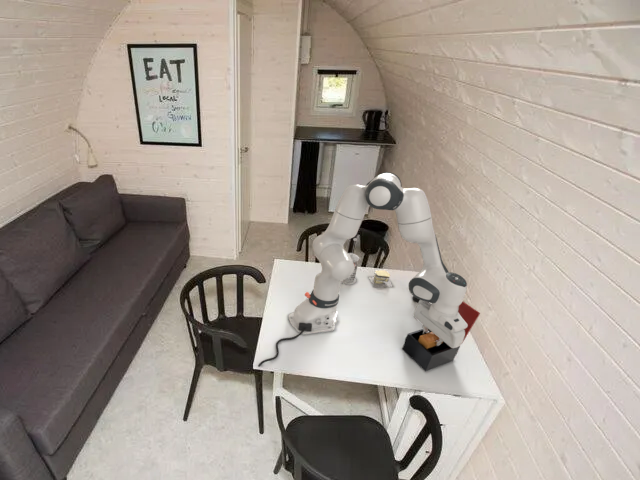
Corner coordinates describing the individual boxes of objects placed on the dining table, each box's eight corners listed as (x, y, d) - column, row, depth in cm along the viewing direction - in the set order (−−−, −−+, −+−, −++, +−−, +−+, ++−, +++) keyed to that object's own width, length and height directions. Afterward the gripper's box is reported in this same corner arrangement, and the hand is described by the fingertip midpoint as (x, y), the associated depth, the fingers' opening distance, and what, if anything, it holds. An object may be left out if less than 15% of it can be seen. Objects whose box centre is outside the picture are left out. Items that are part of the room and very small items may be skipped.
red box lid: (479, 313, 130) (480, 313, 130) (450, 293, 139) (451, 293, 140) (460, 344, 137) (461, 344, 138) (434, 324, 147) (435, 323, 147)
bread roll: (426, 348, 138) (430, 340, 135) (417, 341, 141) (421, 333, 139) (442, 343, 140) (445, 335, 138) (433, 335, 144) (436, 327, 141)
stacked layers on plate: (374, 286, 184) (376, 278, 181) (368, 277, 192) (370, 268, 189) (393, 286, 184) (395, 278, 181) (386, 277, 192) (389, 268, 189)
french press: (358, 284, 186) (368, 243, 172) (336, 284, 186) (344, 243, 172) (353, 273, 194) (362, 233, 181) (332, 274, 194) (339, 233, 180)
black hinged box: (425, 371, 138) (432, 355, 133) (402, 349, 148) (407, 333, 143) (453, 360, 143) (460, 345, 138) (428, 339, 152) (434, 324, 148)
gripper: (414, 298, 139) (405, 324, 147) (459, 332, 123) (446, 359, 131) (427, 294, 141) (417, 320, 149) (472, 327, 125) (458, 355, 133)
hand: (431, 339), depth 140 cm, fingers closed on bread roll, 4 cm apart
